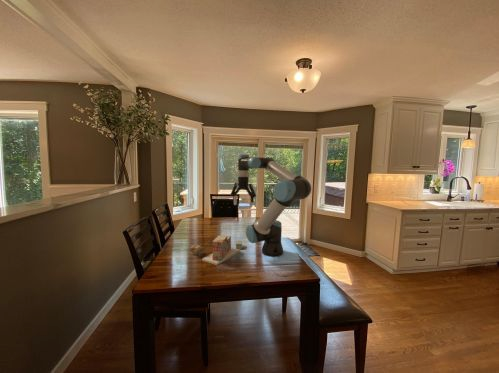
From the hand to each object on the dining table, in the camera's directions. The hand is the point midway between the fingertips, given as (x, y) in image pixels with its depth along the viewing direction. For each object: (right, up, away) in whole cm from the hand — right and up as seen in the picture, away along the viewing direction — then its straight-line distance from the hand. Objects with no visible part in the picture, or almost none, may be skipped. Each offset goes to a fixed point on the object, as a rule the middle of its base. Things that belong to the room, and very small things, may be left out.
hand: (243, 205), depth 165 cm
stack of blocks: (-14, -32, -10) cm, 36 cm away
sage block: (-3, -32, +5) cm, 32 cm away
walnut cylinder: (-27, -33, -12) cm, 44 cm away
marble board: (-14, -33, -11) cm, 37 cm away
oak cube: (-33, -32, -7) cm, 47 cm away
